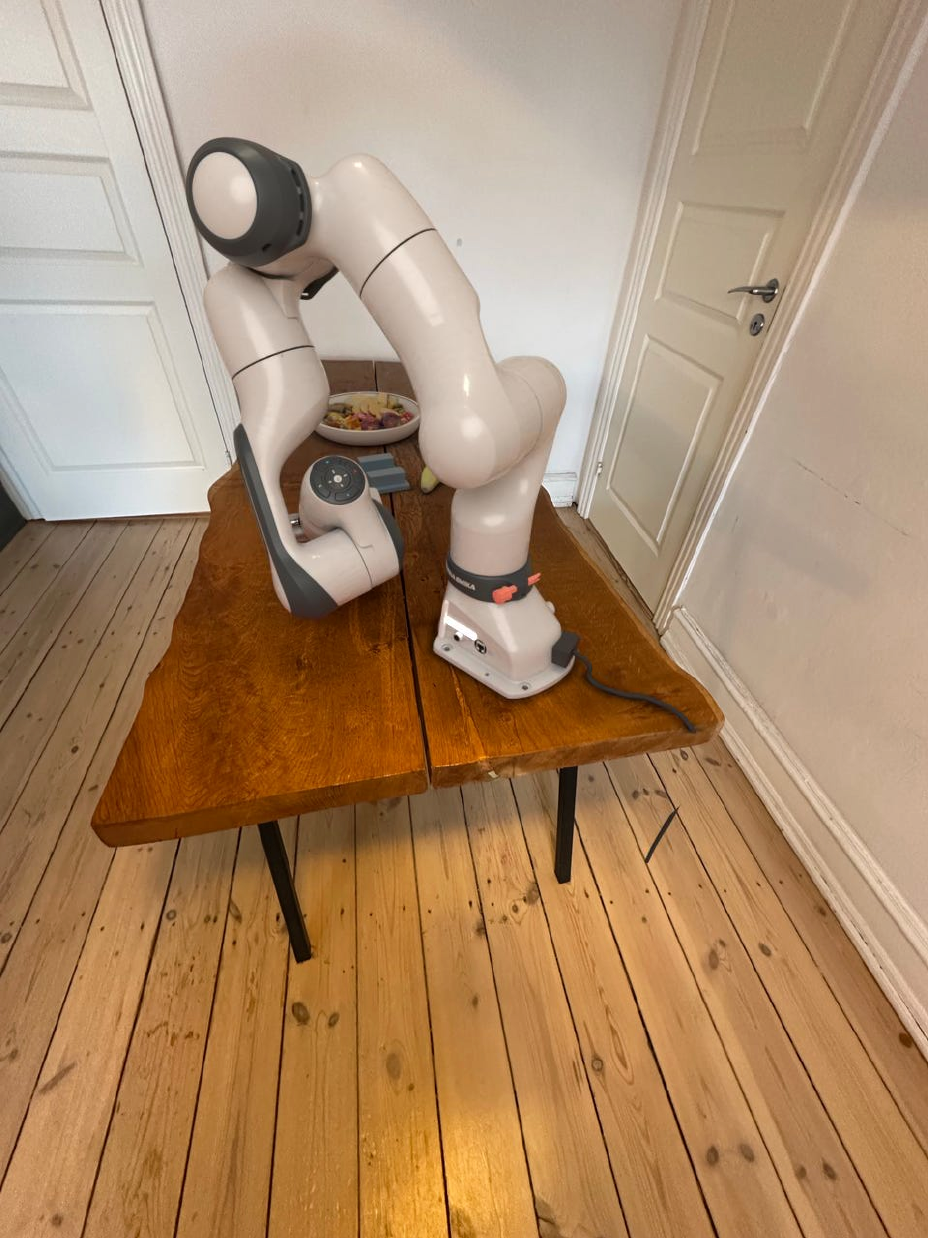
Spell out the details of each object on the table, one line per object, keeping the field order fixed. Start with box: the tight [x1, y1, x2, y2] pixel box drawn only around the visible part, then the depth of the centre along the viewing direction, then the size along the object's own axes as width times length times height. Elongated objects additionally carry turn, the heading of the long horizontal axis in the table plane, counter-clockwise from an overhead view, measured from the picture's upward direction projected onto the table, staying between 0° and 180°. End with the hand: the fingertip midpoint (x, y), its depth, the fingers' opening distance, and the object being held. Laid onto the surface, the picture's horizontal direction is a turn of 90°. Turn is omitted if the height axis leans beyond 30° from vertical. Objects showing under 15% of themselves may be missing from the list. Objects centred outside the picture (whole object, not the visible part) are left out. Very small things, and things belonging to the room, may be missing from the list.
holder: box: [356, 452, 411, 495], centre depth 125 cm, size 14×9×4 cm, turn 24°
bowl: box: [314, 391, 420, 447], centre depth 146 cm, size 30×30×8 cm
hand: (322, 538), depth 97 cm, fingers closed on tape, 3 cm apart
